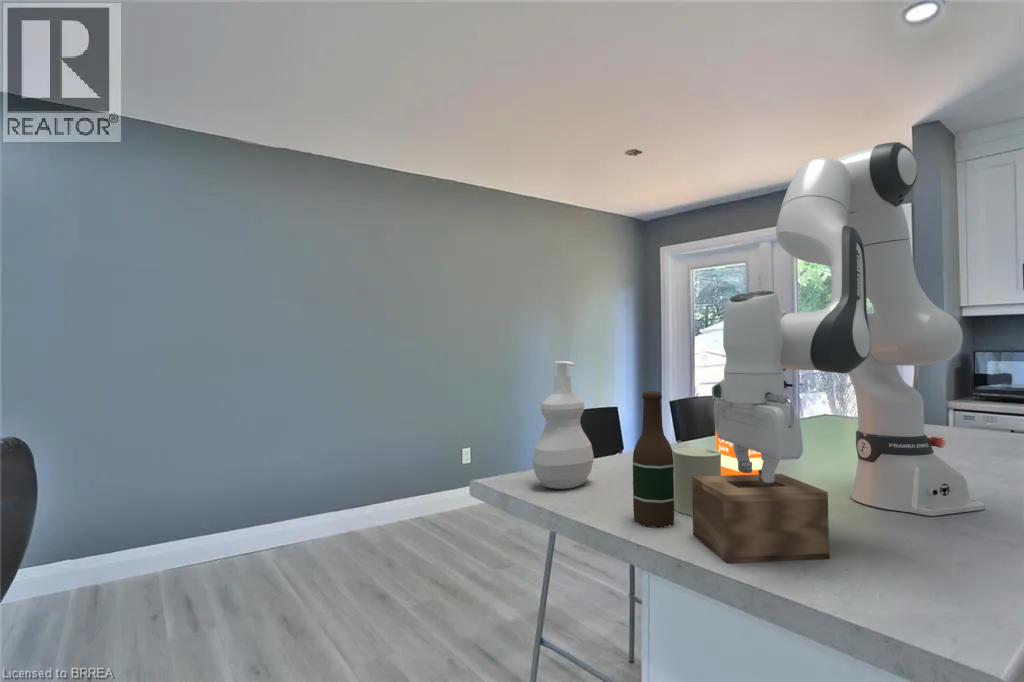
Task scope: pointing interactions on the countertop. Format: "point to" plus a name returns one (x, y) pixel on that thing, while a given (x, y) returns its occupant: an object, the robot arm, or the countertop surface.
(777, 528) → the coin box
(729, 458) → the orange juice
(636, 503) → the beer bottle
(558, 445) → the soap bottle
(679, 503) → the can
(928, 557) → the countertop surface
